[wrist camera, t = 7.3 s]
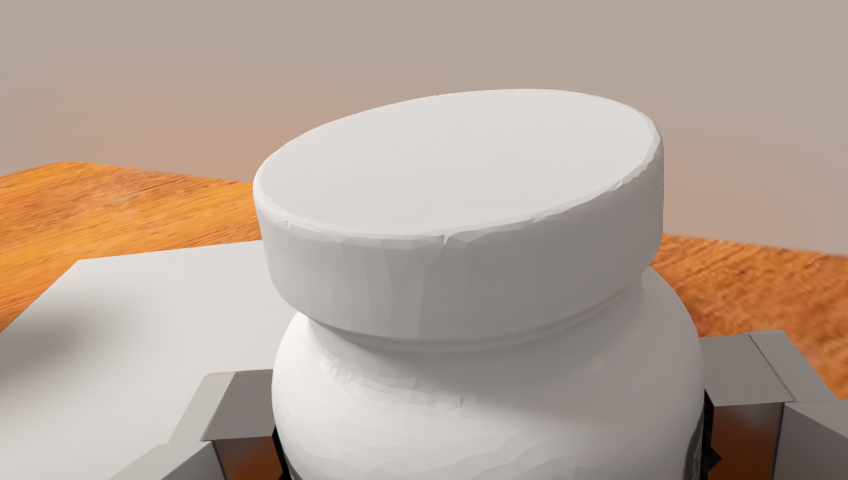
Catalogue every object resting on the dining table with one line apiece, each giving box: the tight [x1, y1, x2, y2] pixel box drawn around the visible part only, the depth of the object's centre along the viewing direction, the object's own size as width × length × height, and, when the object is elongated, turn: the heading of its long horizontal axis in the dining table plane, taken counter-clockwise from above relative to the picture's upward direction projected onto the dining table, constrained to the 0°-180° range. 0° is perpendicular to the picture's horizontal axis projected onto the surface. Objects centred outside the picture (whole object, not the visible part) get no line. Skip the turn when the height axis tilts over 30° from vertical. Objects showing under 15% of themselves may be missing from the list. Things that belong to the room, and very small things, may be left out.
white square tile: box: [0, 240, 298, 480], centre depth 28 cm, size 18×18×1 cm
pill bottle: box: [253, 89, 704, 480], centre depth 10 cm, size 6×6×10 cm
